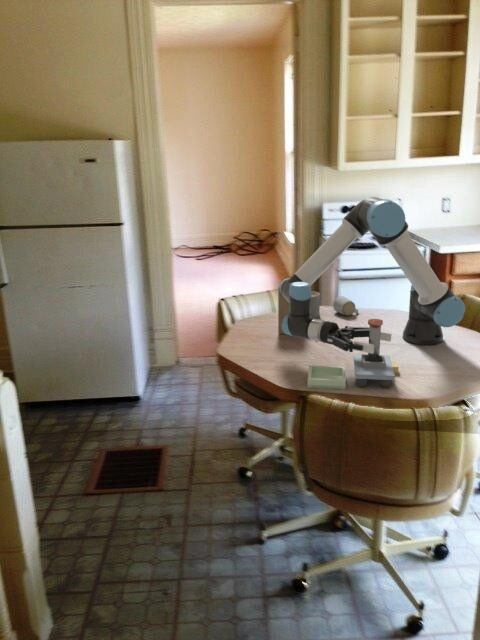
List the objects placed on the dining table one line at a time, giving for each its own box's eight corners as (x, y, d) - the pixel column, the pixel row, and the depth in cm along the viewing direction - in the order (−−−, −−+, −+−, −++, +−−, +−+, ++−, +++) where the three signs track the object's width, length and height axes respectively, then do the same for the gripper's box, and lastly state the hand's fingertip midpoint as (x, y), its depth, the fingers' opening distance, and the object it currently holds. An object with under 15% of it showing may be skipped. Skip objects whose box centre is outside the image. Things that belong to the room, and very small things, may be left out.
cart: (396, 369, 195) (398, 350, 193) (402, 390, 178) (404, 370, 176) (353, 367, 197) (353, 348, 195) (355, 388, 180) (355, 368, 178)
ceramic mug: (342, 317, 253) (343, 301, 251) (332, 312, 260) (333, 296, 258) (362, 314, 258) (363, 298, 255) (351, 310, 265) (352, 294, 262)
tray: (344, 374, 191) (345, 366, 190) (345, 389, 180) (345, 380, 179) (308, 373, 193) (309, 365, 192) (307, 387, 182) (307, 379, 181)
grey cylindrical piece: (310, 319, 251) (310, 297, 248) (292, 315, 258) (293, 294, 255) (328, 313, 260) (329, 292, 257) (311, 309, 267) (311, 288, 264)
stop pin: (379, 362, 188) (382, 318, 184) (380, 367, 184) (383, 323, 179) (365, 361, 189) (367, 318, 184) (366, 366, 184) (368, 322, 180)
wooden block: (302, 335, 231) (303, 287, 225) (278, 334, 233) (278, 287, 227) (304, 327, 240) (305, 282, 234) (281, 326, 242) (281, 281, 236)
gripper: (340, 332, 205) (396, 343, 193) (305, 352, 186) (365, 366, 174) (341, 312, 203) (398, 322, 191) (305, 330, 184) (366, 343, 172)
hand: (382, 343), depth 182 cm, fingers open, 13 cm apart
